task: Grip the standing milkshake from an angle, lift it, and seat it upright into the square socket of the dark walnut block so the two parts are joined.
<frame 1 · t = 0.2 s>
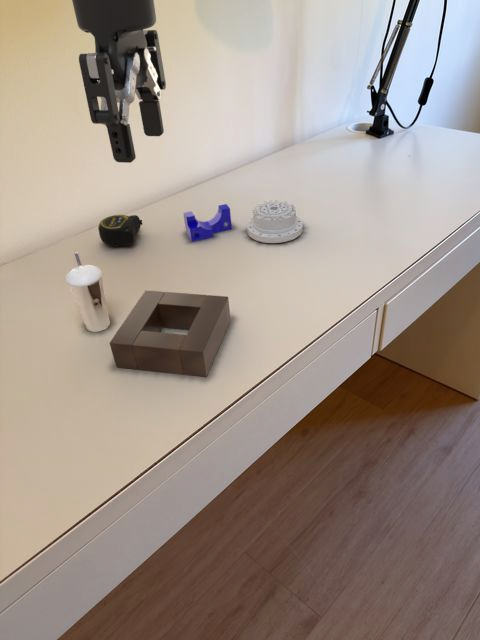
hand: (140, 147, 59), 24 cm above the table, tool pointing down, fingers open, 8 cm apart
milkshake: (98, 325, 75), on the table
cable holder: (210, 233, 95), on the table
socket block: (176, 342, 70), on the table
mechanical component: (275, 232, 94), on the table
tape measure: (125, 241, 94), on the table
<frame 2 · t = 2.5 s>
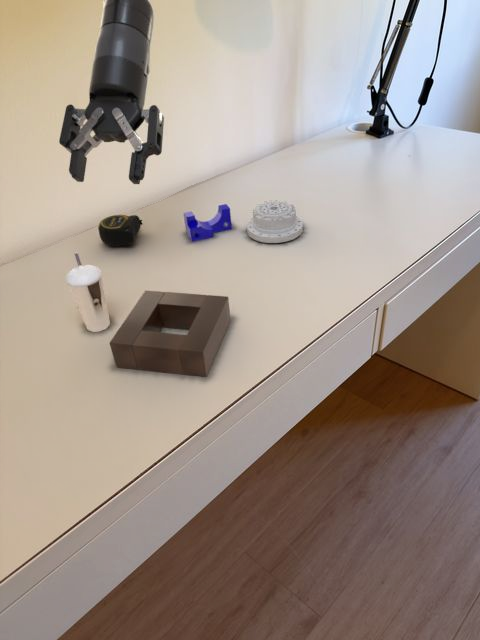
hand: (105, 180, 73), 16 cm above the table, tool tilted 45°, fingers open, 8 cm apart
nothing on the table moved.
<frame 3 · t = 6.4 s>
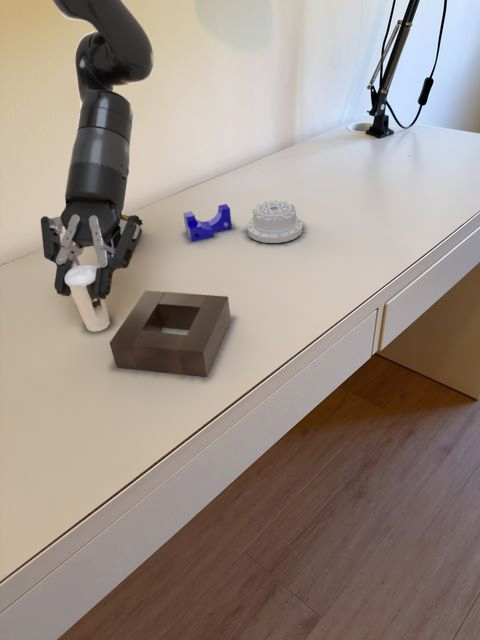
hand: (81, 295, 69), 6 cm above the table, tool tilted 45°, fingers closed on milkshake, 4 cm apart
milkshake: (98, 324, 75), on the table, touching gripper
everything else where it was.
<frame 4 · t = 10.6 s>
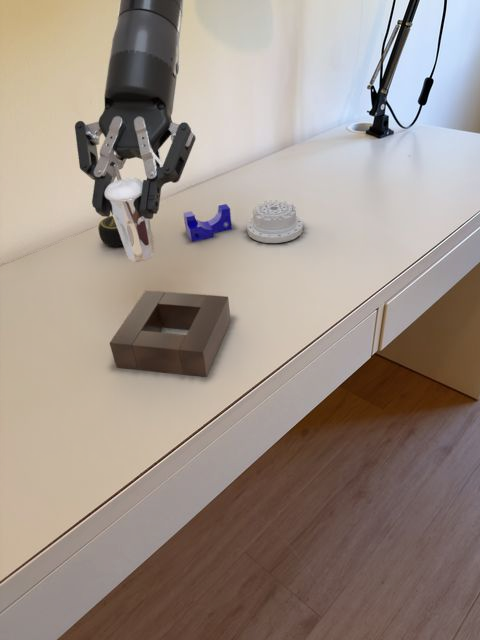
hand: (124, 214, 58), 19 cm above the table, tool tilted 45°, fingers closed on milkshake, 4 cm apart
milkshake: (140, 255, 64), point 13 cm above the table, touching gripper
everything else where it was.
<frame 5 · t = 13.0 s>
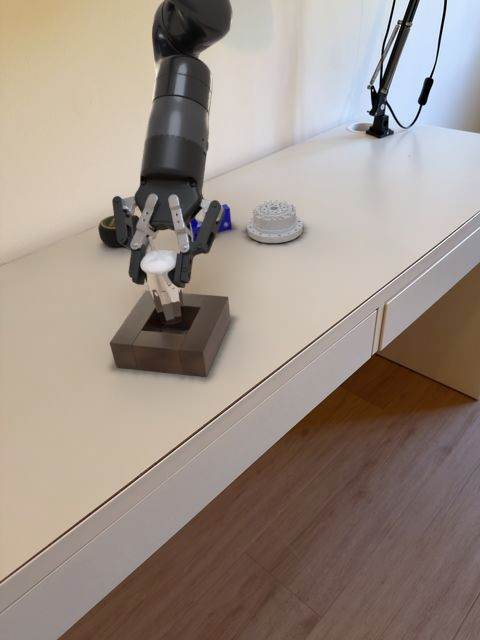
hand: (158, 284, 63), 10 cm above the table, tool tilted 45°, fingers closed on milkshake, 4 cm apart
milkshake: (171, 316, 68), point 4 cm above the table, touching gripper
everything else where it was.
when the fingers open (6 cm above the table, at t = 14.7 s): milkshake stays where it is, resting in socket block.
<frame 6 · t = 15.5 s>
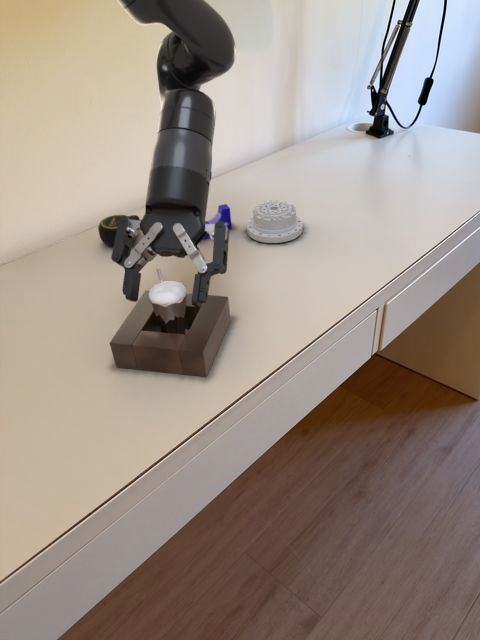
hand: (163, 303, 65), 7 cm above the table, tool tilted 45°, fingers open, 8 cm apart
milkshake: (176, 343, 71), resting in socket block
everything else where it was.
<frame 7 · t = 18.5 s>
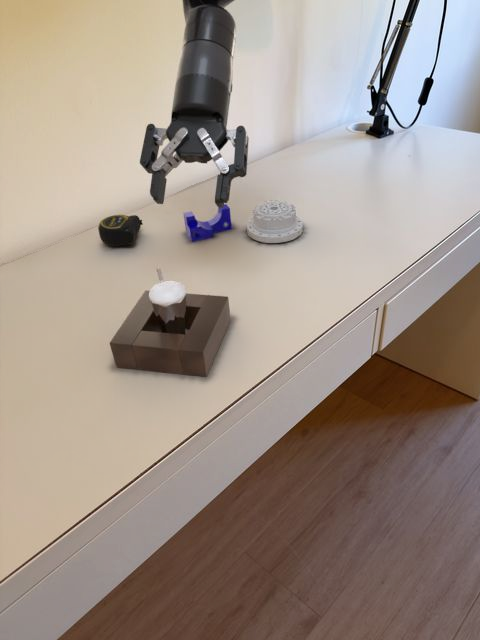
hand: (188, 203, 70), 14 cm above the table, tool tilted 45°, fingers open, 8 cm apart
nothing on the table moved.
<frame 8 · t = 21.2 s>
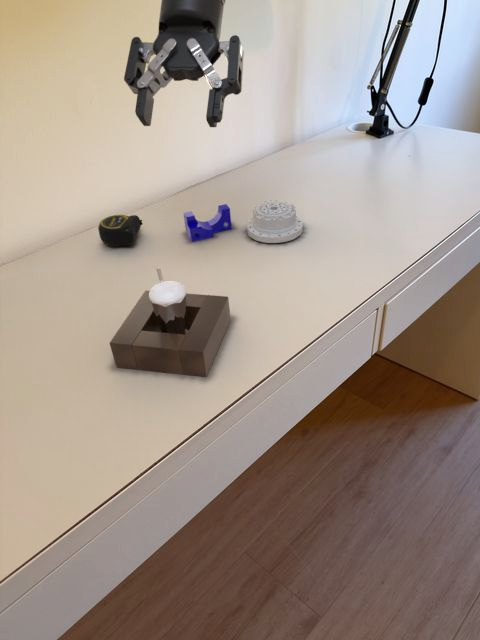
hand: (177, 123, 64), 25 cm above the table, tool tilted 45°, fingers open, 8 cm apart
nothing on the table moved.
at the end: milkshake 0.2 cm off-centre in the socket block, point 0.0 cm above the socket block's base; milkshake tilted 0°; the gripper is holding nothing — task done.
